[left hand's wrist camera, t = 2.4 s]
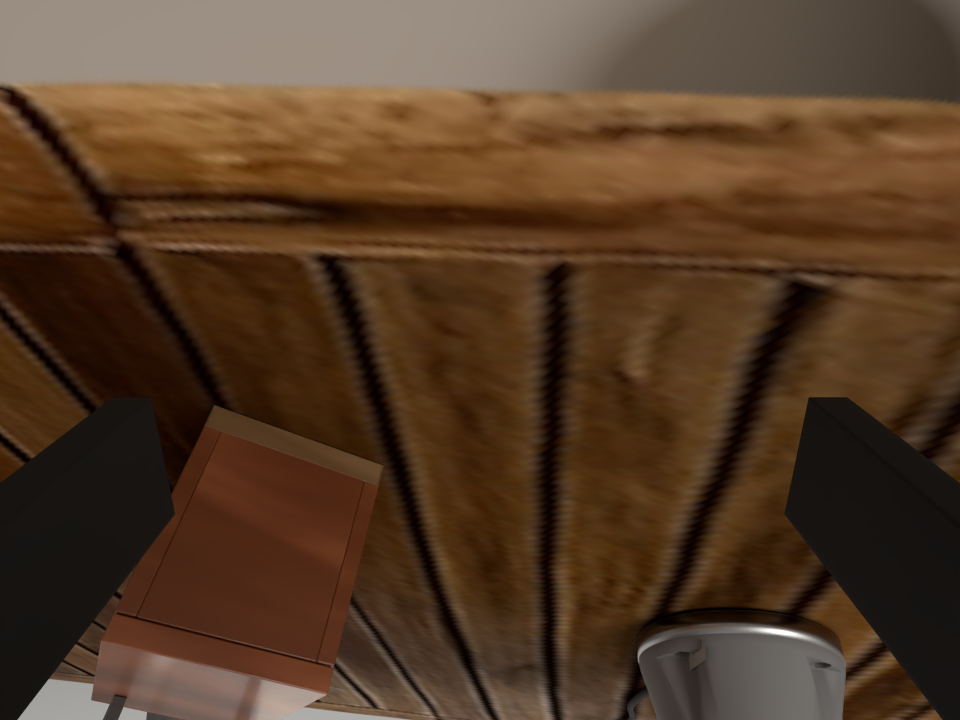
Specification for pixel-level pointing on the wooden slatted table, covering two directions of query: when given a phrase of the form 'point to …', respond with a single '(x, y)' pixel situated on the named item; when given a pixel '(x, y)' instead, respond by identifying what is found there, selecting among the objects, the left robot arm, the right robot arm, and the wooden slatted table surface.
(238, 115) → the wooden slatted table surface
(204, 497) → the chest
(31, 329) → the wooden slatted table surface
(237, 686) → the lid
